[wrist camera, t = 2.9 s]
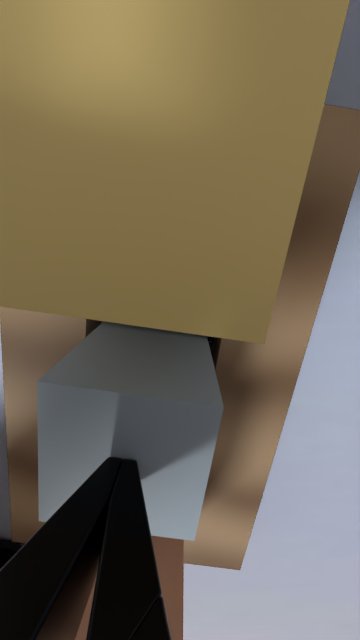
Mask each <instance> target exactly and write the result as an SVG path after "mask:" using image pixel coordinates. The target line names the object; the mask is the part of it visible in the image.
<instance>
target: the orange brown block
mask: <svg viewBox="0 0 360 640" xmlns="http://www.w3.org/2000/svg"><path fill="white" fill-rule="evenodd" d="M151 537H152V543H153V548H154V553H155V558H156V564H157V569H158V574H159V580H160V585H161V590H162V597H163V600H164V605H165V610H166V615H167V621H168V625H169V630H170V634H171V639H172V640H183V564H184V540H183V539H175V538H167V537H159V536H152V535H151ZM96 577H97V575H96ZM95 583H96V578H95V581H94V584H93V587H92V590H91V593H90V596H89V599H88V602H87V605H86V608H85V611H84V614H83V617H82V620H81V623H80V626H79V629H78V632H77V635H76V638H75V640H86V637H87V631H88V625H89V619H90V613H91V607H92V601H93V595H94V589H95Z"/></svg>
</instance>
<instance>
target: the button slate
mask: <svg viewBox="0 0 360 640" xmlns="http://www.w3.org/2000/svg"><path fill="white" fill-rule="evenodd" d="M223 409H224V406H223V402H222V397H221V393H220V389H219V385H218V381H217V376H216V372H215V368H214V364H213V359H212V355H211V351H210V347H209V343H208V338H207V336H203V335H196V334H189V333H182V332H175V331H168V330H161V329H154V328H147V327H140V326H133V325H126V324H119V323H112V322H105V321H103V322H102V323H101V324H100V325H99V326H98V327H97V328H96V329H95V330H93V331H92V332H91V333H90V334H89V335H88V336H87V337H86V338H85V339H83V340H82V341H81V342H80V343H79V344H78V345H77V346H76V347H75V348H74V349H72V350H71V351H70V352H69V353H68V354H67V355H66V356H65V357H64V358H63V359H61V360H60V361H59V362H58V363H57V364H56V365H55V366H54V367H53V368H51V369H50V370H49V371H48V372H47V373H46V374H45V375H44V376H43V377H42V378H40V379H39V380H38V381H37V416H38V497H39V521H42V522H46V521H47V520H48V519H49V518H50V517H51V516H52V515H53V514H54V513H55V512H56V511H57V510H58V509H59V508H60V507H61V506H62V505H63V504H64V503H65V502H66V500H67V499H68V498H69V497H70V496H71V495H72V494H73V493H74V492H75V491H76V490H77V489H78V488H79V487H80V486H81V485H82V484H83V483H84V482H85V481H86V480H87V479H88V478H89V476H90V475H91V474H92V473H93V472H94V471H95V470H96V469H97V468H98V467H99V466H100V465H101V464H102V463H103V462H104V461H105V460H106V459H107V458H108V457H118V458H121V459H122V461H123V459H133V460H136V461H137V463H138V468H139V474H140V479H141V484H142V490H143V495H144V500H145V506H146V511H147V516H148V521H149V527H150V532H151V535H152V536H159V537H167V538H175V539H183V540H191V541H195V537H196V532H197V528H198V523H199V518H200V514H201V509H202V505H203V500H204V496H205V491H206V486H207V482H208V477H209V473H210V468H211V464H212V459H213V454H214V450H215V445H216V441H217V436H218V432H219V427H220V422H221V418H222V413H223Z"/></svg>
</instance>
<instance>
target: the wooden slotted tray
mask: <svg viewBox="0 0 360 640" xmlns="http://www.w3.org/2000/svg"><path fill="white" fill-rule="evenodd" d="M359 171H360V110H357V109H351V108H345V107H338V106H332V105H326V104H324V107H323V111H322V115H321V119H320V123H319V127H318V131H317V135H316V139H315V143H314V147H313V151H312V155H311V159H310V163H309V167H308V171H307V175H306V179H305V183H304V187H303V191H302V195H301V199H300V203H299V207H298V211H297V215H296V219H295V223H294V227H293V231H292V235H291V239H290V243H289V247H288V251H287V255H286V259H285V263H284V267H283V271H282V275H281V279H280V283H279V287H278V291H277V295H276V299H275V303H274V307H273V311H272V315H271V319H270V323H269V327H268V331H267V335H266V339H265V343H264V344H260V343H252V342H245V341H238V340H231V339H224V338H217V337H213V341H212V346H211V355H212V359H213V364H214V368H215V372H216V376H217V381H218V385H219V389H220V393H221V397H222V402H223V406H224V409H223V413H222V418H221V422H220V427H219V432H218V436H217V441H216V445H215V450H214V454H213V459H212V464H211V468H210V473H209V477H208V482H207V486H206V491H205V496H204V500H203V505H202V509H201V514H200V518H199V523H198V528H197V532H196V537H195V541H191V540H184V563H187V564H195V565H203V566H211V567H219V568H227V569H235V570H240V569H241V565H242V562H243V558H244V555H245V552H246V548H247V545H248V542H249V538H250V535H251V532H252V528H253V525H254V522H255V518H256V515H257V512H258V508H259V505H260V502H261V498H262V495H263V492H264V488H265V485H266V482H267V478H268V475H269V472H270V468H271V465H272V462H273V458H274V455H275V451H276V448H277V445H278V441H279V438H280V435H281V431H282V428H283V425H284V421H285V418H286V415H287V411H288V408H289V405H290V401H291V398H292V395H293V391H294V388H295V385H296V381H297V378H298V375H299V371H300V368H301V365H302V361H303V358H304V355H305V351H306V348H307V345H308V341H309V338H310V334H311V331H312V328H313V324H314V321H315V318H316V314H317V311H318V308H319V304H320V301H321V298H322V294H323V291H324V288H325V284H326V281H327V278H328V274H329V271H330V268H331V264H332V261H333V258H334V254H335V251H336V248H337V244H338V241H339V238H340V234H341V231H342V227H343V224H344V221H345V217H346V214H347V211H348V207H349V204H350V201H351V197H352V194H353V191H354V187H355V184H356V181H357V177H358V174H359ZM101 323H102V321H98V320H91V319H84V318H77V317H70V316H63V315H56V314H49V313H42V312H35V311H27V310H20V309H13V308H6V307H0V324H1V343H2V362H3V381H4V400H5V419H6V438H7V457H8V476H9V495H10V514H11V533H12V542H20V543H26V542H27V541H28V540H29V539H30V538H31V537H32V536H33V535H34V534H35V533H36V532H37V531H38V530H39V529H40V528H41V527H42V526H43V524H44V523H45V522H42V521H39V497H38V416H37V381H38V380H39V379H40V378H42V377H43V376H44V375H45V374H46V373H47V372H48V371H49V370H50V369H51V368H53V367H54V366H55V365H56V364H57V363H58V362H59V361H60V360H61V359H63V358H64V357H65V356H66V355H67V354H68V353H69V352H70V351H71V350H72V349H74V348H75V347H76V346H77V345H78V344H79V343H80V342H81V341H82V340H83V339H85V338H86V337H87V336H88V335H89V334H90V333H91V332H92V331H93V330H95V329H96V328H97V327H98V326H99V325H100V324H101Z"/></svg>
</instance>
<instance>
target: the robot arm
mask: <svg viewBox="0 0 360 640" xmlns="http://www.w3.org/2000/svg"><path fill="white" fill-rule="evenodd" d="M96 575H97V577H96ZM95 578H96V583H95V589H94V595H93V601H92V607H91V613H90V619H89V625H88V631H87V637H86V640H172V639H171V634H170V630H169V625H168V621H167V615H166V610H165V605H164V600H163V597H162V590H161V585H160V580H159V574H158V569H157V564H156V558H155V553H154V548H153V543H152V537H151V532H150V527H149V521H148V516H147V511H146V506H145V500H144V495H143V490H142V484H141V479H140V474H139V468H138V463H137V461H136V460H133V459H123V461H122V459H121V458H118V457H108V458H107V459H106V460H105V461H104V462H103V463H102V464H101V465H100V466H99V467H98V468H97V469H96V470H95V471H94V472H93V473H92V474H91V475H90V476H89V478H88V479H87V480H86V481H85V482H84V483H83V484H82V485H81V486H80V487H79V488H78V489H77V490H76V491H75V492H74V493H73V494H72V495H71V496H70V497H69V498H68V499H67V500H66V502H65V503H64V504H63V505H62V506H61V507H60V508H59V509H58V510H57V511H56V512H55V513H54V514H53V515H52V516H51V517H50V518H49V519H48V520H47V521H46V522H45V523H44V524H43V526H42V527H41V528H40V529H39V530H38V531H37V532H36V533H35V534H34V535H33V536H32V537H31V538H30V539H29V540H28V541H27V542H26V543H25V544H24V545H23V546H22V545H20V544H19V543H13V542H5V541H0V640H75V638H76V635H77V632H78V629H79V626H80V623H81V620H82V617H83V614H84V611H85V608H86V605H87V602H88V599H89V596H90V593H91V590H92V587H93V584H94V581H95Z"/></svg>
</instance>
